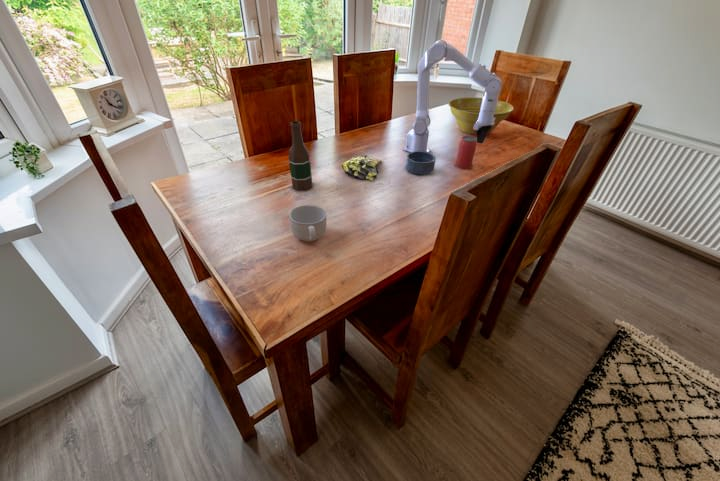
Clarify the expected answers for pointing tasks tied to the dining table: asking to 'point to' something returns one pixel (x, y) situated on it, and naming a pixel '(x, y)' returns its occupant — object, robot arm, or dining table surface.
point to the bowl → (420, 162)
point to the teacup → (308, 222)
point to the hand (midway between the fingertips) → (479, 142)
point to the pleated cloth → (362, 167)
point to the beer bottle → (299, 160)
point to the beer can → (466, 152)
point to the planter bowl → (476, 112)
